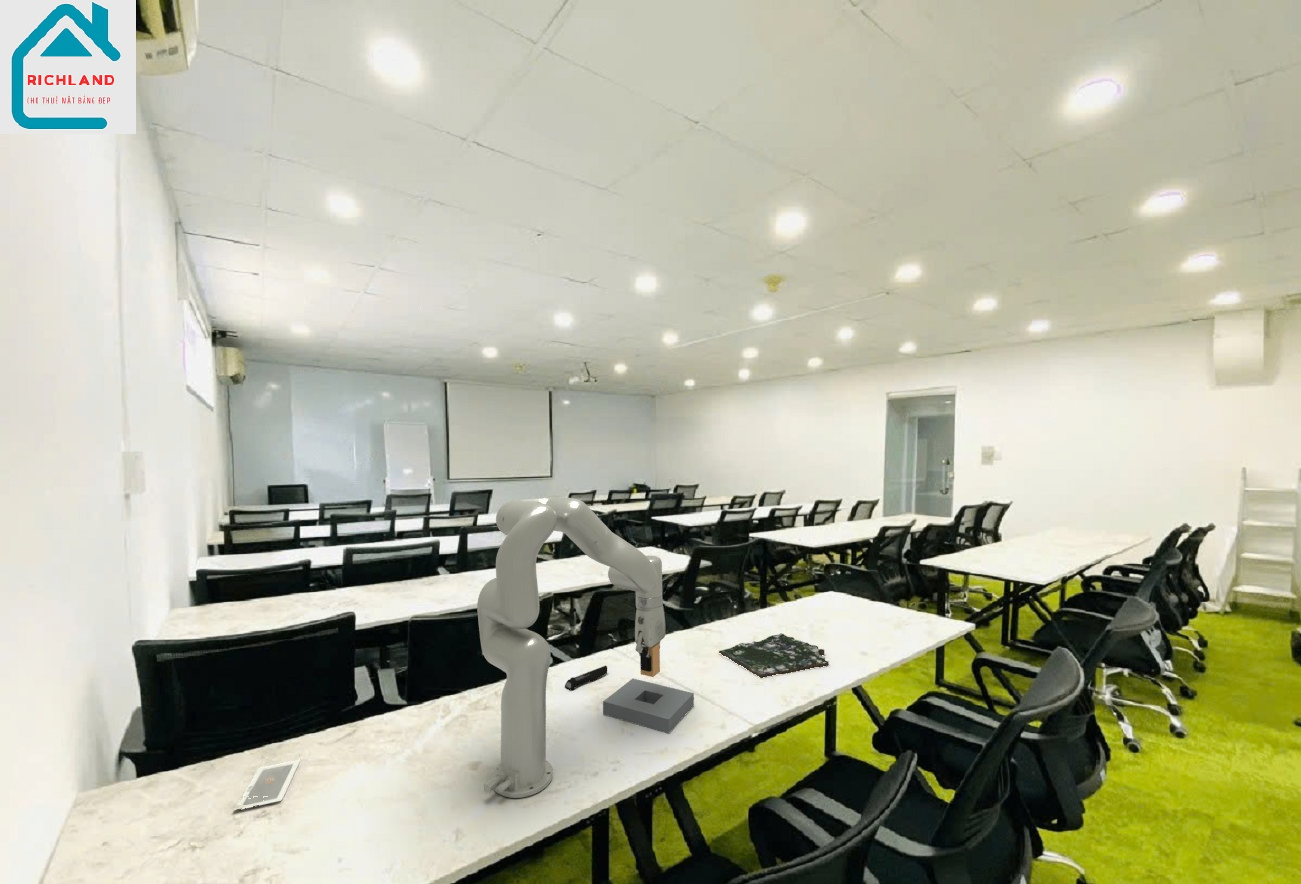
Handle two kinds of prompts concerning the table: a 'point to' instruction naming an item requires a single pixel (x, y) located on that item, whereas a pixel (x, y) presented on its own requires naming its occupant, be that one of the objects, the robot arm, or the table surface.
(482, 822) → the table surface
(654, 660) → the peg
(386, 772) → the table surface
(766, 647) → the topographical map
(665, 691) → the socket board
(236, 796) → the table surface
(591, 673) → the electric trimmer
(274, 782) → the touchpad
